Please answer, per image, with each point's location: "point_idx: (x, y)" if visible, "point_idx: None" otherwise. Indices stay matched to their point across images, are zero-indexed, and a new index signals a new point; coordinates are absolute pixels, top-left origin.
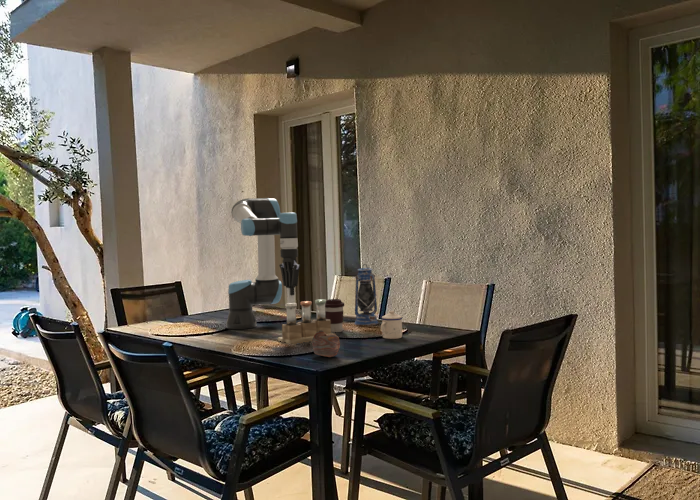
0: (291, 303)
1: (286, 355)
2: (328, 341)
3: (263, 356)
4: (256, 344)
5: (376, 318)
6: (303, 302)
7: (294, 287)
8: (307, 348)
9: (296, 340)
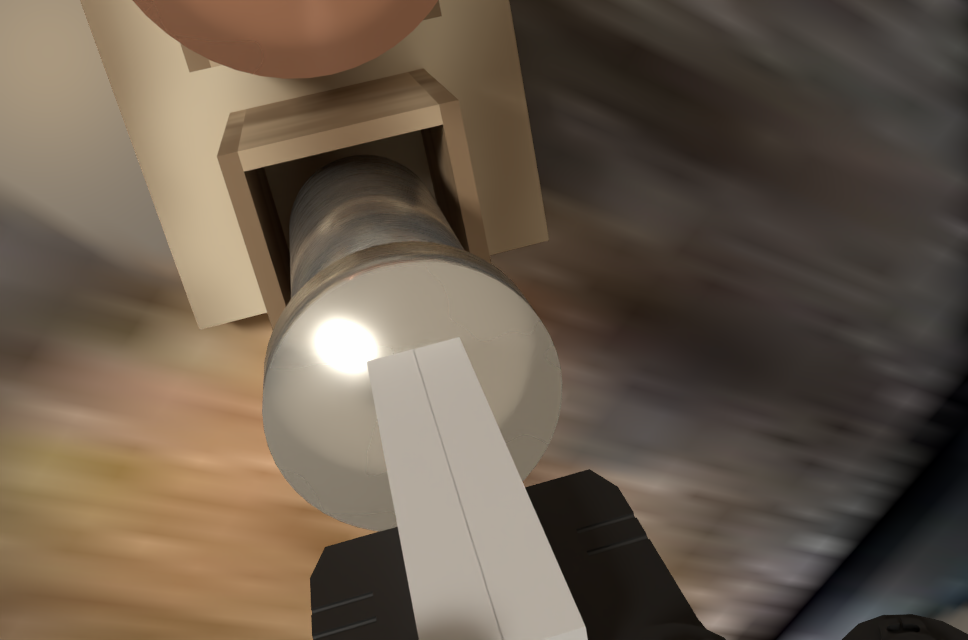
0: (361, 376)
1: (931, 429)
2: None
3: (829, 587)
4: (283, 554)
5: None
6: (365, 13)
7: (656, 626)
8: (819, 163)
9: (540, 190)
